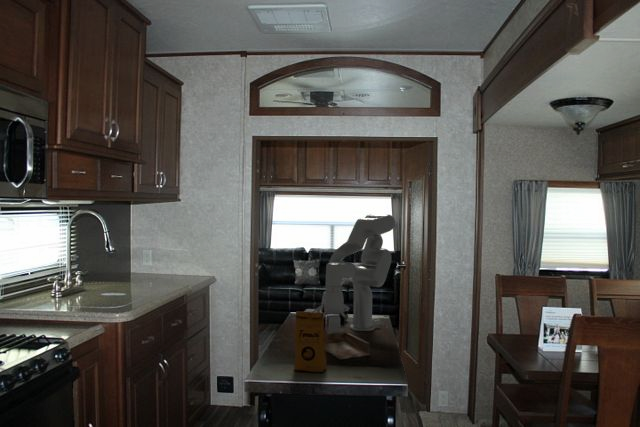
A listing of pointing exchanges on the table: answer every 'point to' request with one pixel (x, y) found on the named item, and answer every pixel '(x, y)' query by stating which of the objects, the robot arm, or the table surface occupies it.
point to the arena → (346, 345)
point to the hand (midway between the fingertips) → (332, 325)
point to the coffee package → (310, 342)
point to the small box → (333, 323)
